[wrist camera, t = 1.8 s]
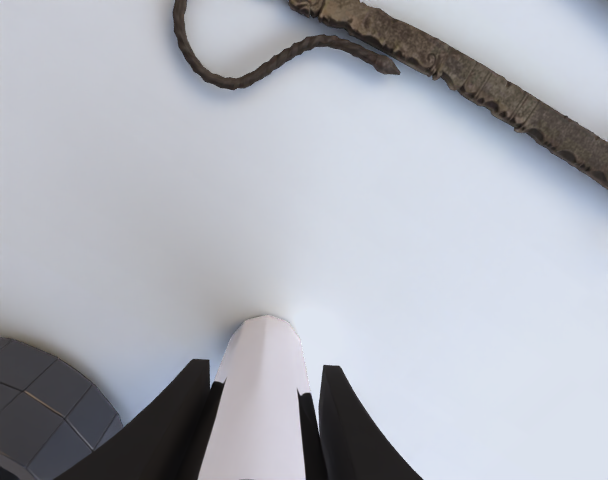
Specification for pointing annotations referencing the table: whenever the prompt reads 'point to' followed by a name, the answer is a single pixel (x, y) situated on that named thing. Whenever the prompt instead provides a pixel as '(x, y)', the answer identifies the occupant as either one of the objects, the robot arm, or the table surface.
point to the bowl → (47, 414)
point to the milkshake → (258, 412)
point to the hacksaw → (432, 62)
